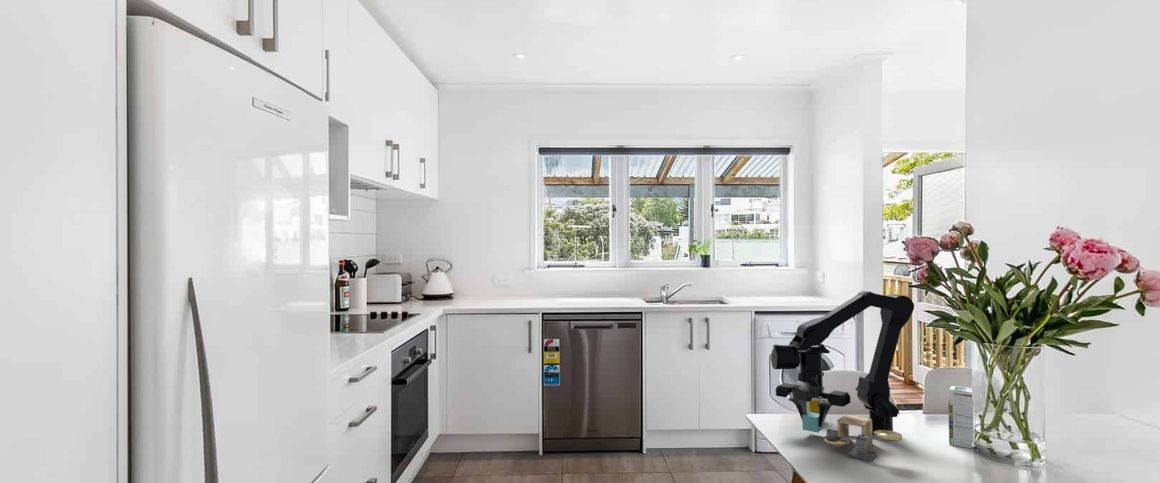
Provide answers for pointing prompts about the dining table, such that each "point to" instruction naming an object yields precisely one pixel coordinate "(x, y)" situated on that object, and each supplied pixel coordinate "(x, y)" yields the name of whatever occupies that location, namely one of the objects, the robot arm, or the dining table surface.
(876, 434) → the balance
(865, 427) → the cover
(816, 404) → the supplement bottle
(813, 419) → the block
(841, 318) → the robot arm
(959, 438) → the syrup box
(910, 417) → the dining table surface
